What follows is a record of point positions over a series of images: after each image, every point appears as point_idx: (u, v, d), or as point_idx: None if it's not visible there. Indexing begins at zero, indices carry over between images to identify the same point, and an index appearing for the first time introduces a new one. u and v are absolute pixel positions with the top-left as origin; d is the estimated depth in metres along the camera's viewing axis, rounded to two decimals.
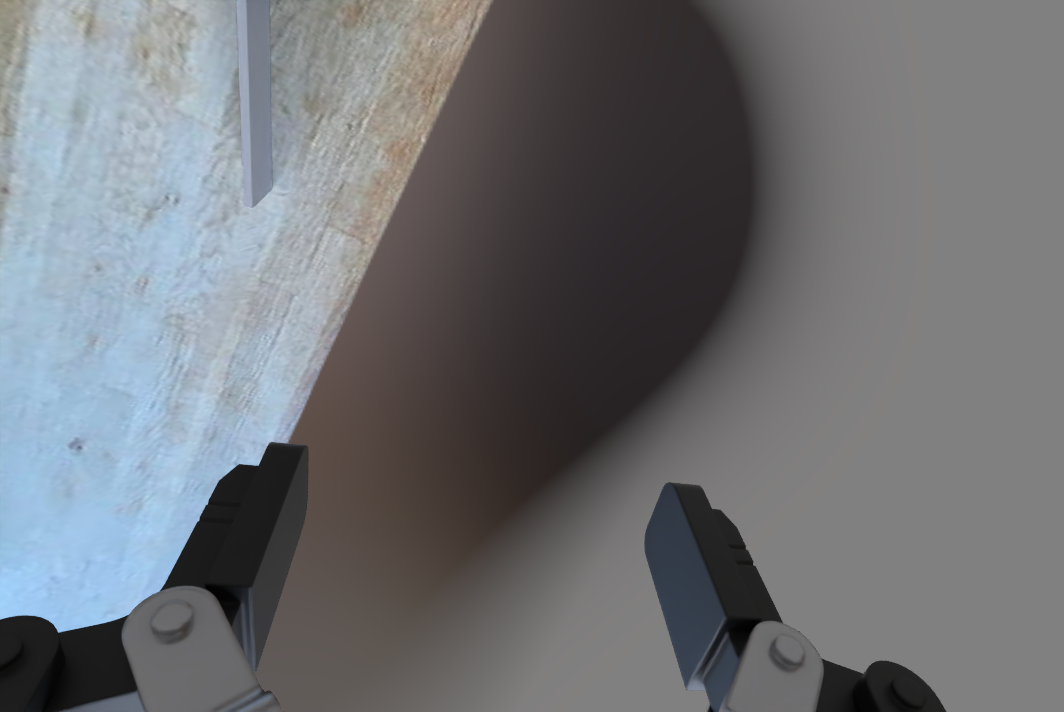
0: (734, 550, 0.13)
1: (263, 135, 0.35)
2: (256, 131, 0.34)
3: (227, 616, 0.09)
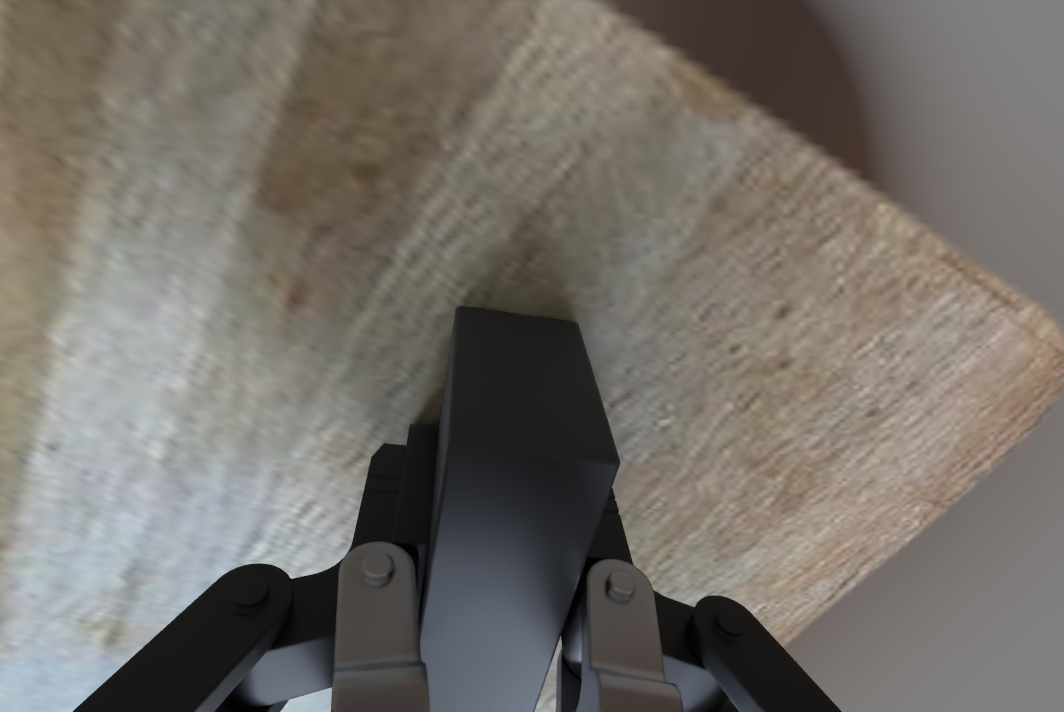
0: None
1: None
2: None
3: None
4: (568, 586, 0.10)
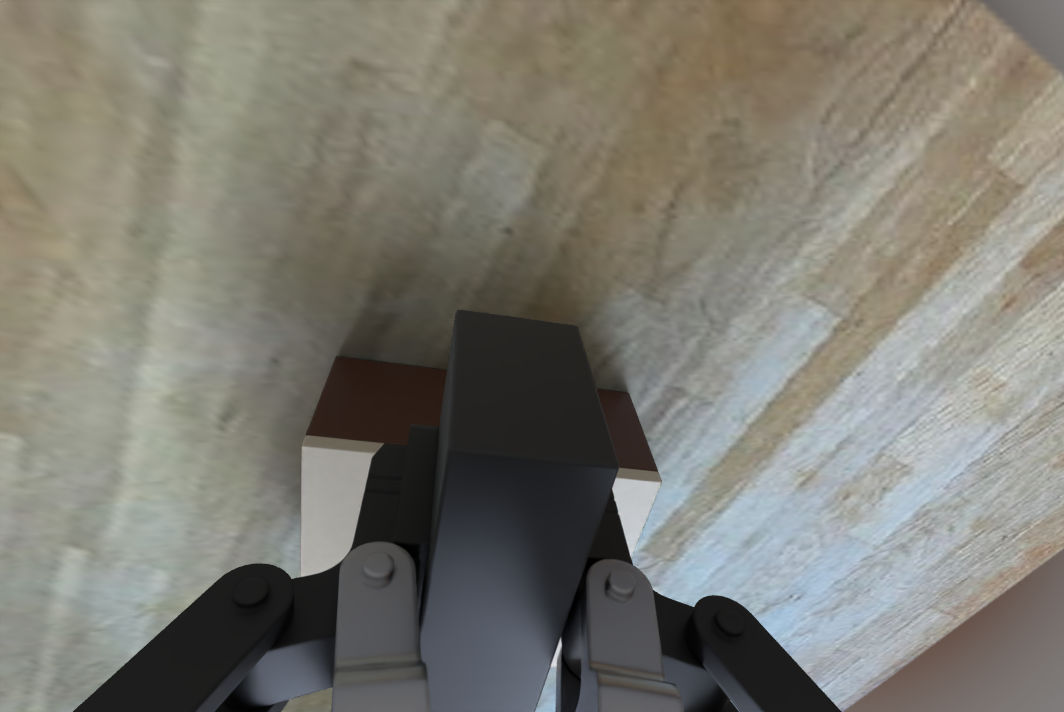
0: None
1: None
2: None
3: None
4: (568, 589, 0.10)
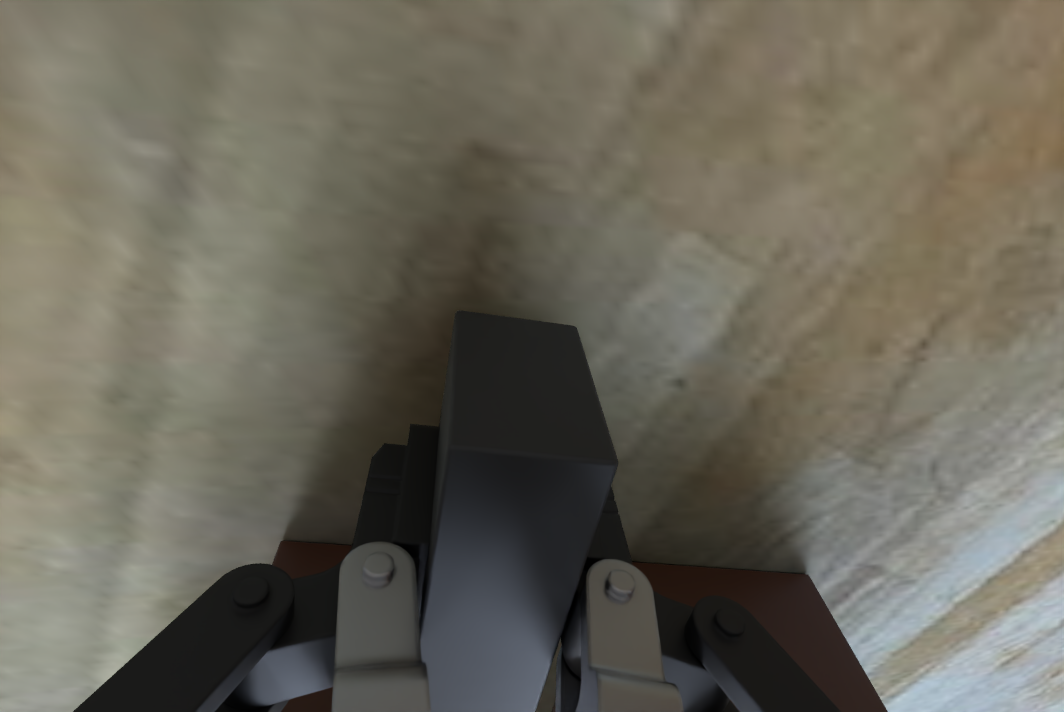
0: None
1: None
2: None
3: None
4: (568, 587, 0.10)
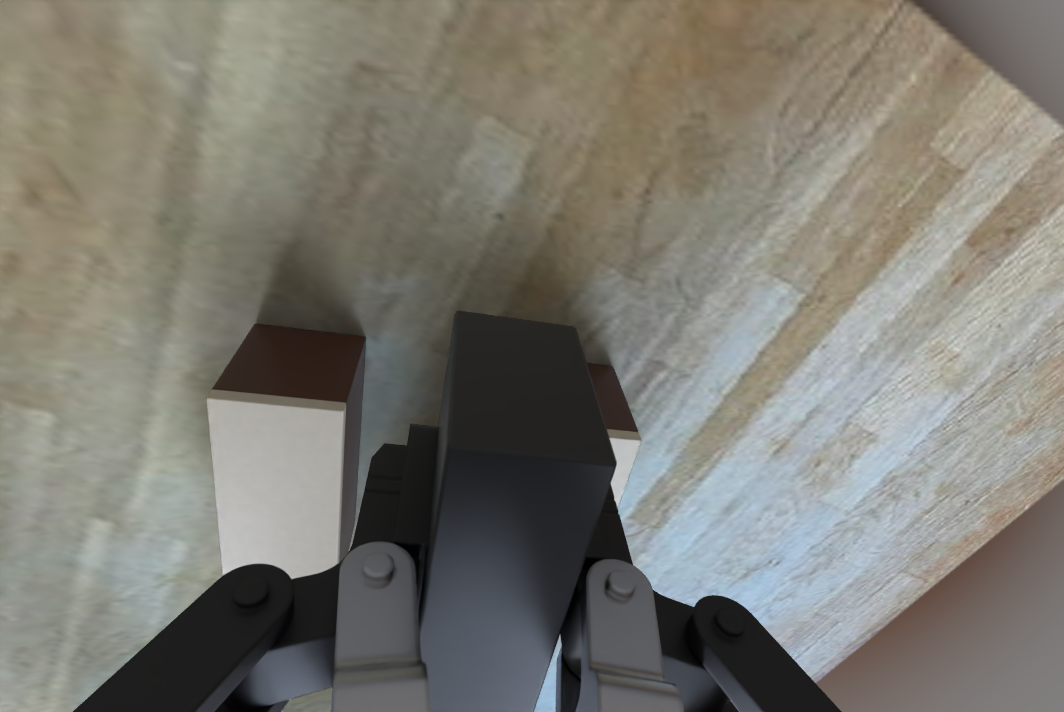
0: None
1: None
2: None
3: None
4: (566, 587, 0.10)
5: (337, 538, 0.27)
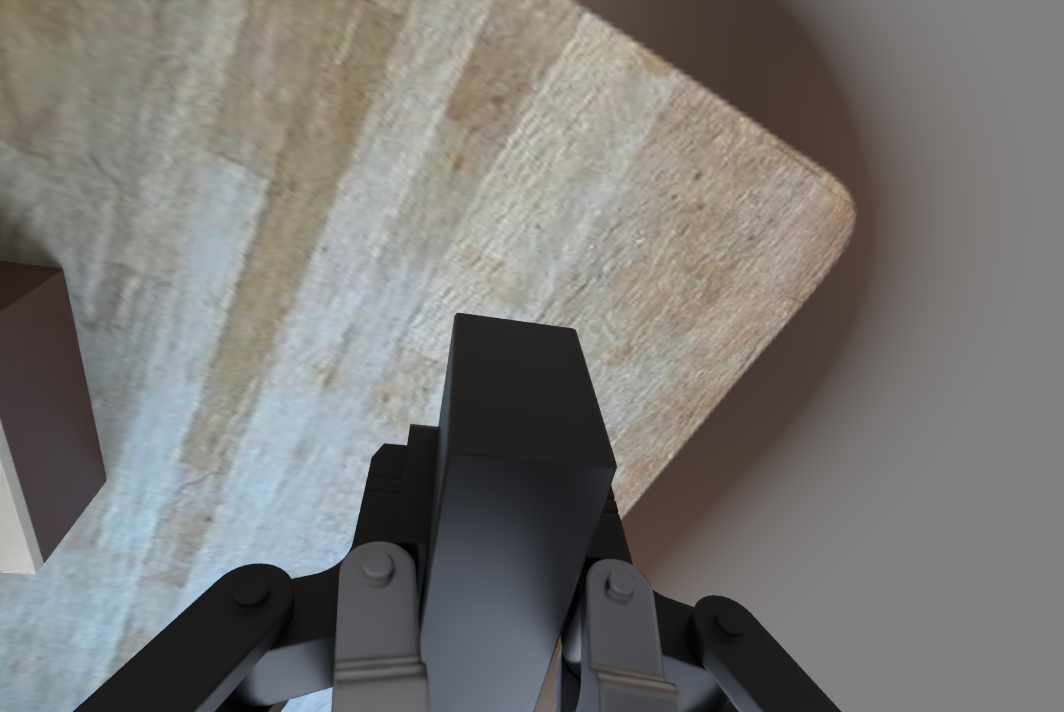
0: None
1: None
2: None
3: None
4: (566, 590, 0.10)
5: None
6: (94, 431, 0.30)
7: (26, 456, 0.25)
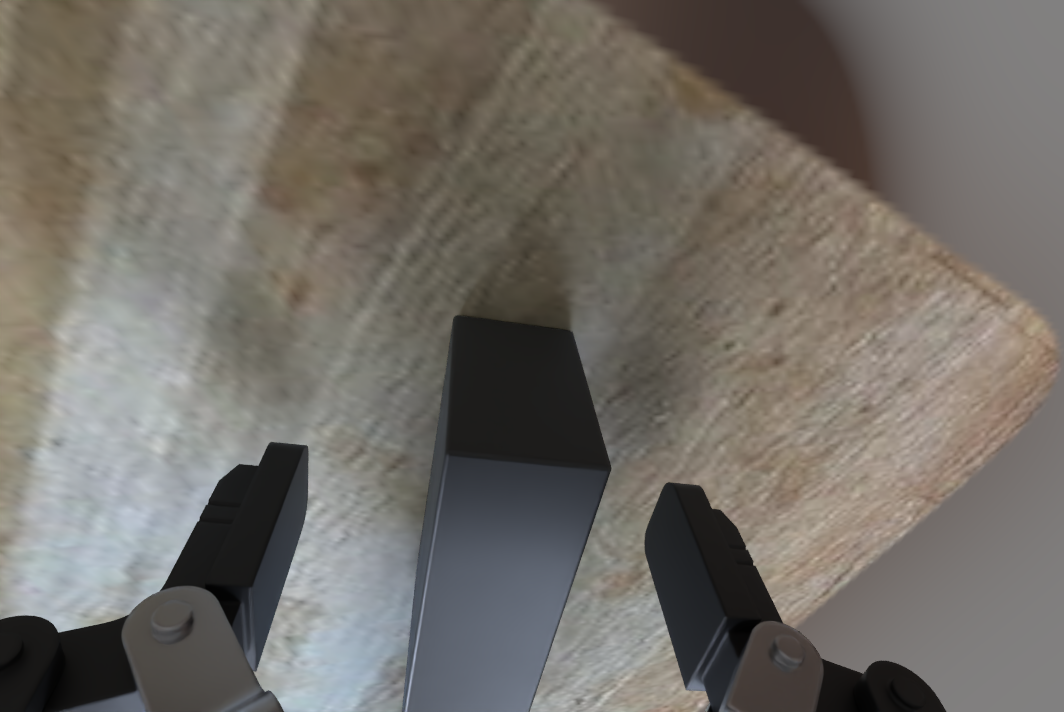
0: (734, 550, 0.13)
1: None
2: None
3: (227, 616, 0.09)
4: (562, 587, 0.11)
5: None
6: None
7: None
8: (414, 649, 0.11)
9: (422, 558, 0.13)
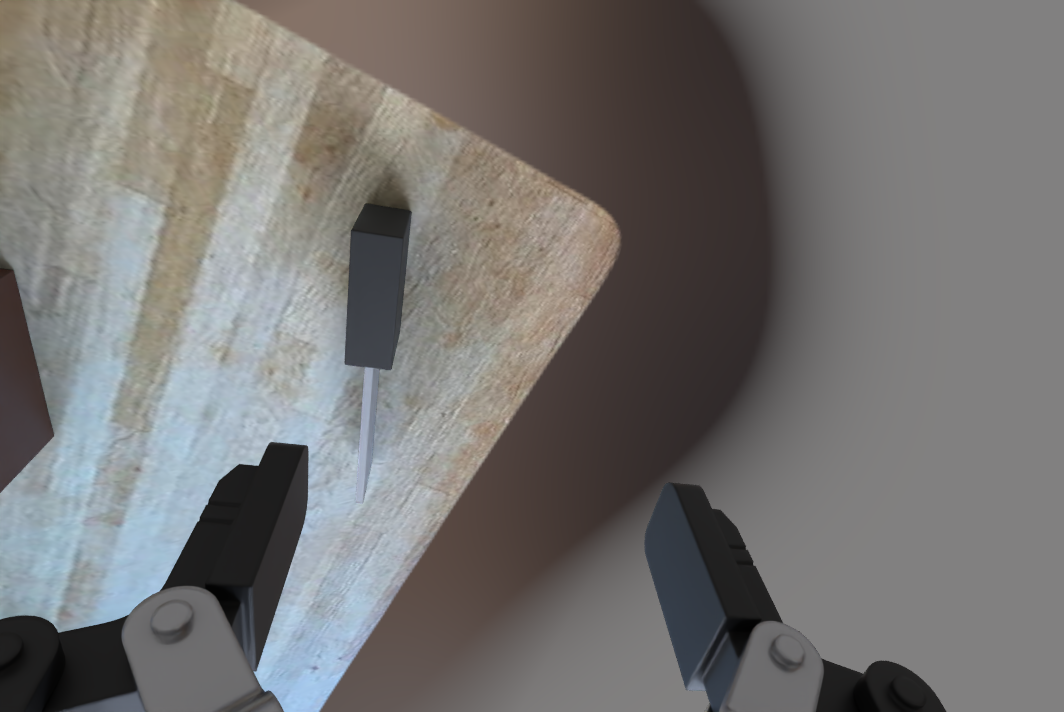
0: (734, 550, 0.13)
1: (371, 438, 0.40)
2: (369, 445, 0.39)
3: (227, 616, 0.09)
4: (395, 287, 0.32)
5: None
6: (42, 395, 0.39)
7: None
8: (347, 314, 0.33)
9: None
